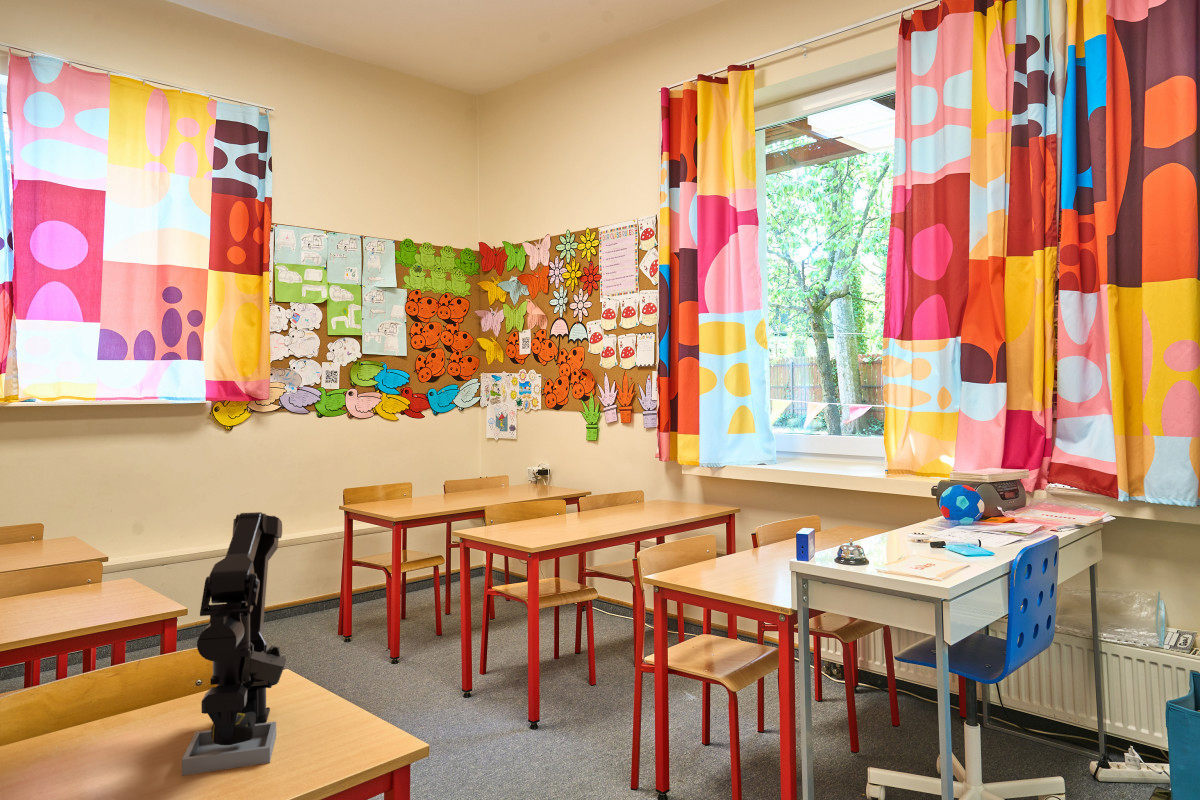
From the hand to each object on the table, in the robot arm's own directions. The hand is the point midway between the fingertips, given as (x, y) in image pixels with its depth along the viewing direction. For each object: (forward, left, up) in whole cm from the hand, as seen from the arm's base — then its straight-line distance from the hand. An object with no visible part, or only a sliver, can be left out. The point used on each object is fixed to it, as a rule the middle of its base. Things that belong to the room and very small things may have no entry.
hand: (231, 733), depth 127 cm
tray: (0, 0, -3) cm, 3 cm away
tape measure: (0, +1, -2) cm, 2 cm away
